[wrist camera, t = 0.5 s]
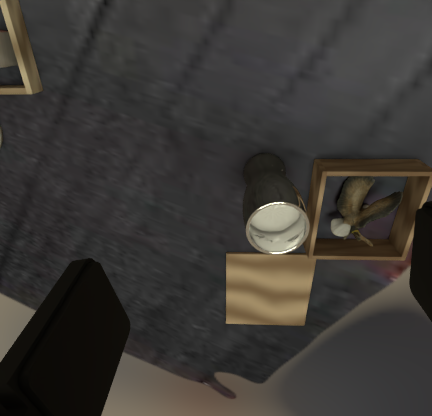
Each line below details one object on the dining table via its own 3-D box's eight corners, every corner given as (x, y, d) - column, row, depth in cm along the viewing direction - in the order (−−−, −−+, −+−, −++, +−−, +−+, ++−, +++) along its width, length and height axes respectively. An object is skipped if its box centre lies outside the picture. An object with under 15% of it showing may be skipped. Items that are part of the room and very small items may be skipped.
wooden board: (226, 252, 52) (226, 253, 52) (316, 253, 52) (316, 255, 51) (226, 321, 61) (226, 323, 60) (303, 323, 60) (304, 325, 60)
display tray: (314, 159, 44) (322, 171, 40) (418, 159, 43) (436, 171, 39) (302, 241, 51) (308, 258, 47) (391, 242, 50) (404, 260, 46)
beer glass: (284, 195, 47) (305, 258, 34) (238, 192, 47) (241, 254, 34) (292, 150, 43) (318, 202, 30) (242, 148, 43) (246, 198, 30)
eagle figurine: (379, 232, 48) (410, 186, 42) (366, 259, 43) (399, 211, 38) (333, 209, 51) (356, 163, 45) (316, 231, 46) (340, 183, 40)
